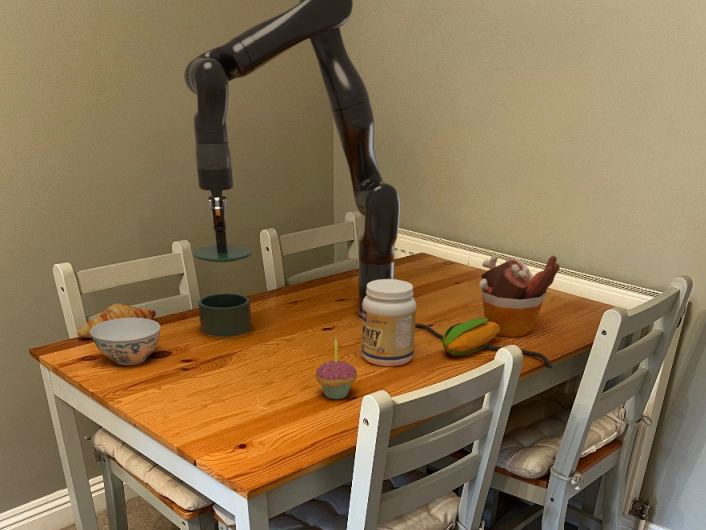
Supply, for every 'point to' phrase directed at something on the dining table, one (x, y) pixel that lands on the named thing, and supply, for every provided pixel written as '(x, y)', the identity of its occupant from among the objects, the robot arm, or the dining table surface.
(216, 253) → the lid
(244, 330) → the pot
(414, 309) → the supplement tub
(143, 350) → the chinaware
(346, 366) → the cupcake
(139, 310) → the croissant
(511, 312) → the bucket of meat
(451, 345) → the corn
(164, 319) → the dining table surface
